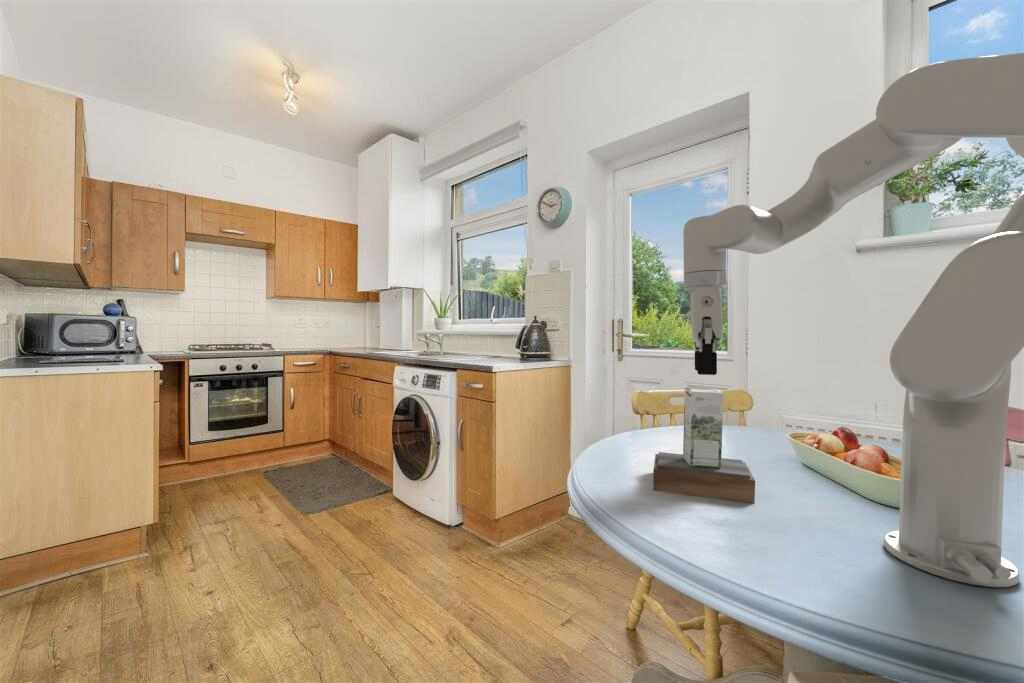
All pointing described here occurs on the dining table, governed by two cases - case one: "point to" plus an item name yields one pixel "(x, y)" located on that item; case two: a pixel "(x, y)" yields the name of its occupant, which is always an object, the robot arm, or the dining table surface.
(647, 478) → the dining table surface
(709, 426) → the syrup box
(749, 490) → the block
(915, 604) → the dining table surface
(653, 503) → the dining table surface
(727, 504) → the dining table surface
